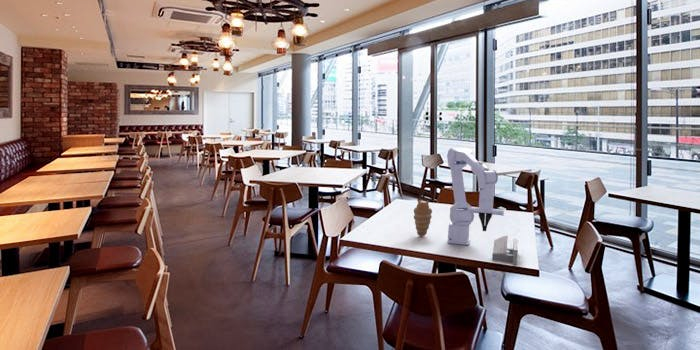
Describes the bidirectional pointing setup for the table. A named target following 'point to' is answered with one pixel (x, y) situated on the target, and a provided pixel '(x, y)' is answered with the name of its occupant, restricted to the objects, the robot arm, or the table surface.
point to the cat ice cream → (422, 217)
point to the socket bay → (508, 257)
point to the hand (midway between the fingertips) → (484, 230)
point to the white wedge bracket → (501, 245)
